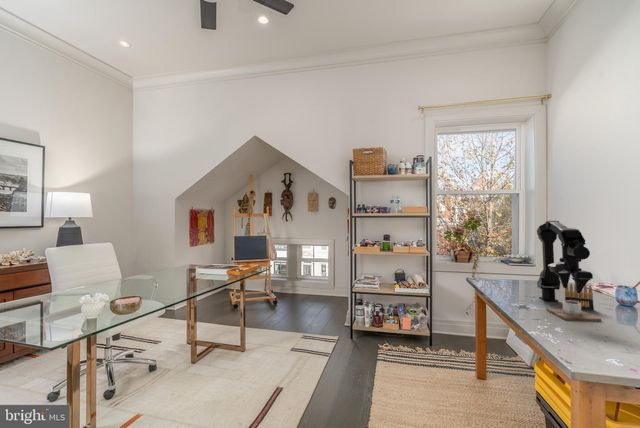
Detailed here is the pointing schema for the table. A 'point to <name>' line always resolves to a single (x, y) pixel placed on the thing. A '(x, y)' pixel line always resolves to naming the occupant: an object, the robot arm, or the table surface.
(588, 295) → the ammunition clip
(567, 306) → the tube
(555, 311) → the post base
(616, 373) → the table surface
